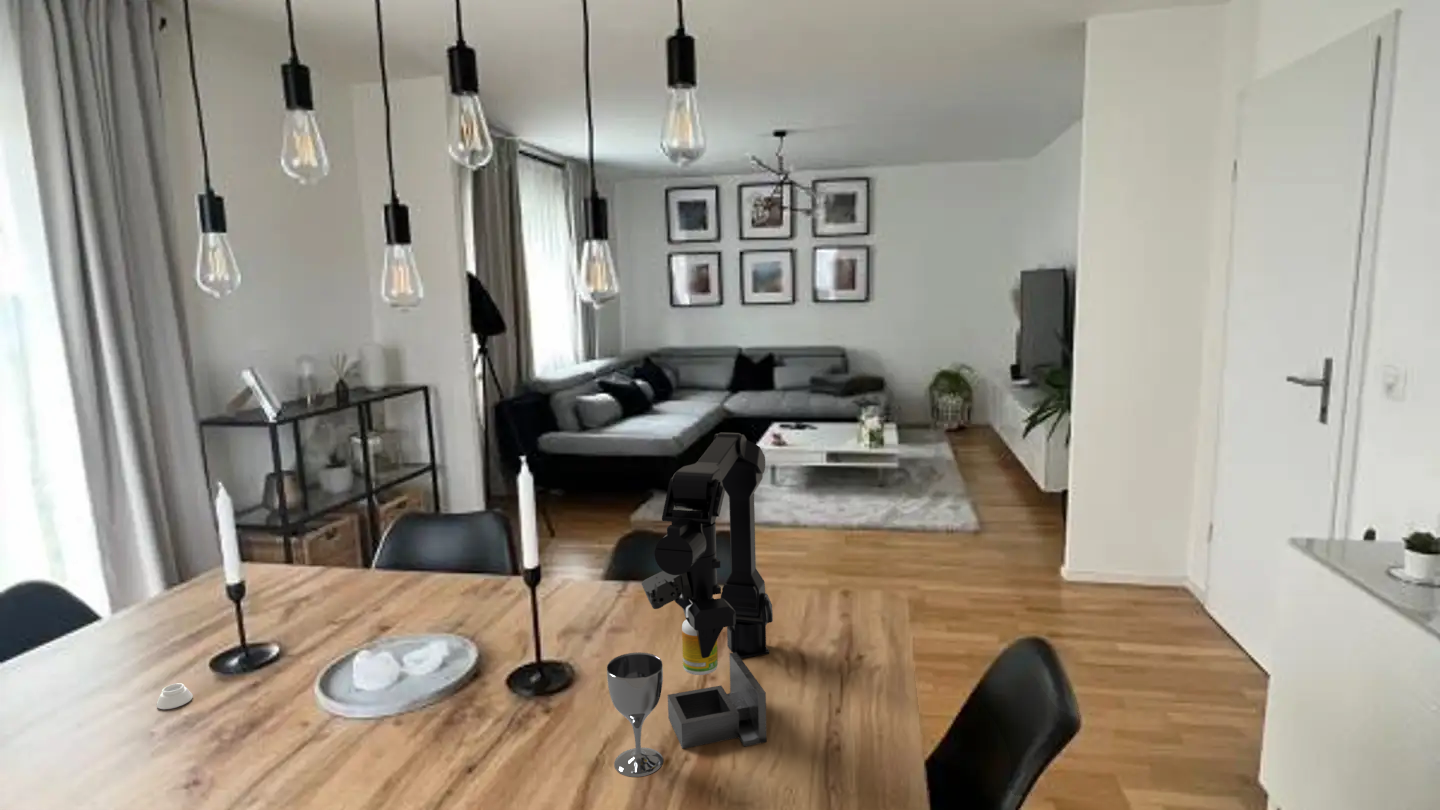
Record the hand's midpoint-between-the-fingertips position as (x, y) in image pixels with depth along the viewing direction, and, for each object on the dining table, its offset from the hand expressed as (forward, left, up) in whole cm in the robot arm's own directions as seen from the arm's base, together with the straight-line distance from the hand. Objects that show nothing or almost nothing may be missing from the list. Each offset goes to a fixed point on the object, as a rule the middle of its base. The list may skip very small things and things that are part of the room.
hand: (700, 649), depth 120 cm
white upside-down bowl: (+84, -37, -13) cm, 93 cm away
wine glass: (+11, +6, -13) cm, 18 cm away
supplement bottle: (0, 0, -3) cm, 3 cm away
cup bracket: (-2, 0, -13) cm, 13 cm away
